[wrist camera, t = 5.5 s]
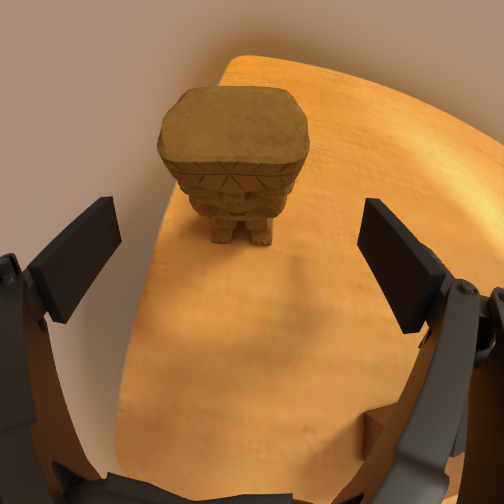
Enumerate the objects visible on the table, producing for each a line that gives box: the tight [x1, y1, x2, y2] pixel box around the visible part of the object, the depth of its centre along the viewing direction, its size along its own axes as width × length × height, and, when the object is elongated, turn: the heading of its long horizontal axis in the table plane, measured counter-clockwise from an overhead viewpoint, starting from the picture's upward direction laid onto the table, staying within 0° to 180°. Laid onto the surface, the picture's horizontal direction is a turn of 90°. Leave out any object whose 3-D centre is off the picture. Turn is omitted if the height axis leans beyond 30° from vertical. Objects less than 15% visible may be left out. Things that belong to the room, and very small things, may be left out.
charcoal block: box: [449, 394, 468, 457], centre depth 19 cm, size 6×6×6 cm
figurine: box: [157, 86, 310, 245], centre depth 19 cm, size 7×6×15 cm
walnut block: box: [363, 403, 397, 461], centre depth 19 cm, size 6×6×6 cm
